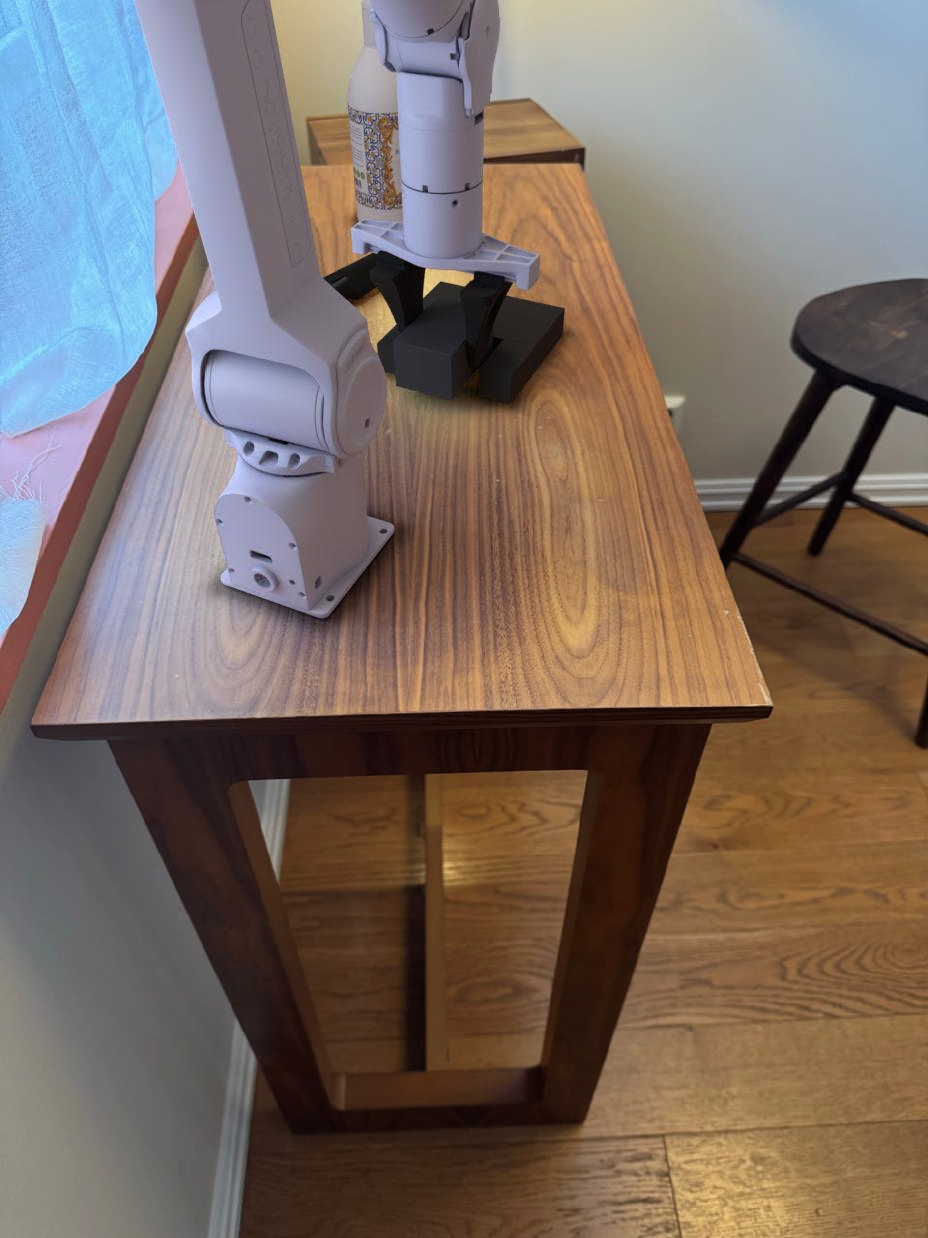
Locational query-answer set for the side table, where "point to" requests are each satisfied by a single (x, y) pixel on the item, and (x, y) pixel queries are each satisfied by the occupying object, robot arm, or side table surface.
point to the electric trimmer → (354, 278)
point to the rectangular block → (436, 351)
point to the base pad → (501, 342)
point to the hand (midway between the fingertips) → (445, 353)
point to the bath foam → (374, 132)
